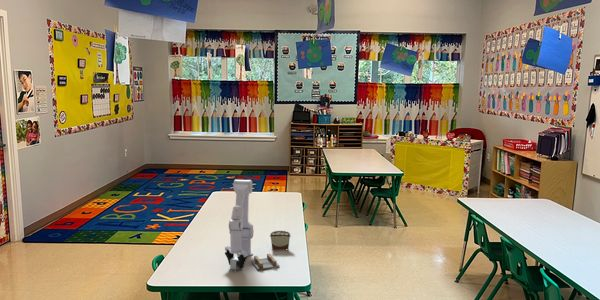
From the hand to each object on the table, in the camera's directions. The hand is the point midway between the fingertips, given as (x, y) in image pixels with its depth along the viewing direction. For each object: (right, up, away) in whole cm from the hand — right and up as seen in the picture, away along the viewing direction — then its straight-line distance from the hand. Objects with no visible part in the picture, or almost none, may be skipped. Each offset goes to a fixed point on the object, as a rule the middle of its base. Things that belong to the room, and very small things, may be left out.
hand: (236, 266), depth 233 cm
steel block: (0, -2, 0) cm, 2 cm away
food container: (+22, +3, +30) cm, 37 cm away
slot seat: (+15, -1, +7) cm, 16 cm away
